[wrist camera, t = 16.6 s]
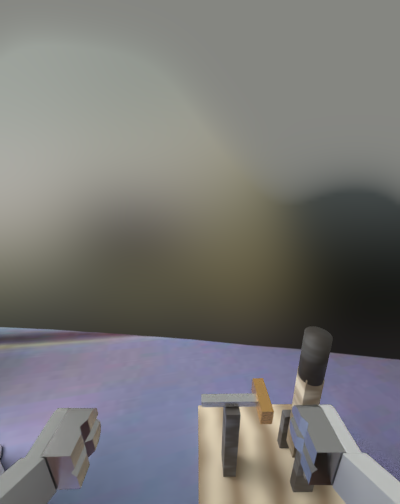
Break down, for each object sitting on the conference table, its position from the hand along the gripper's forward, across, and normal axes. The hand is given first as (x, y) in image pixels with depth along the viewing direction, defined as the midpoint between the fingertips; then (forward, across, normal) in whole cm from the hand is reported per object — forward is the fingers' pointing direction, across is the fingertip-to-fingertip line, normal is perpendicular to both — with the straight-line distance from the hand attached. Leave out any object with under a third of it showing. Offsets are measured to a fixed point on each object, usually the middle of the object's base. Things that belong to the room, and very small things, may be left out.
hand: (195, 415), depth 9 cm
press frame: (+16, -12, +38) cm, 43 cm away
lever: (+16, -16, +31) cm, 38 cm away
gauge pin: (+16, -5, +22) cm, 28 cm away
